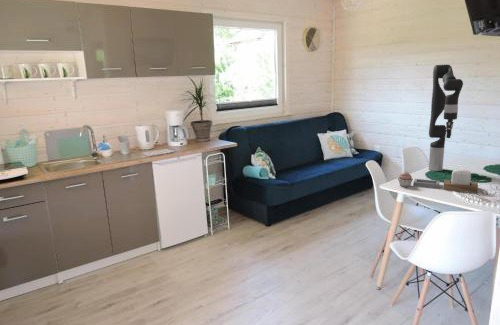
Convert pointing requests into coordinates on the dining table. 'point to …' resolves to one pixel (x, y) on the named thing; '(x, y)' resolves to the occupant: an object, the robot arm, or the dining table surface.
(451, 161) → the dining table surface
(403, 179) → the cupcake
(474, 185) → the dock
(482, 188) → the dining table surface
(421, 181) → the holster
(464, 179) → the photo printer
